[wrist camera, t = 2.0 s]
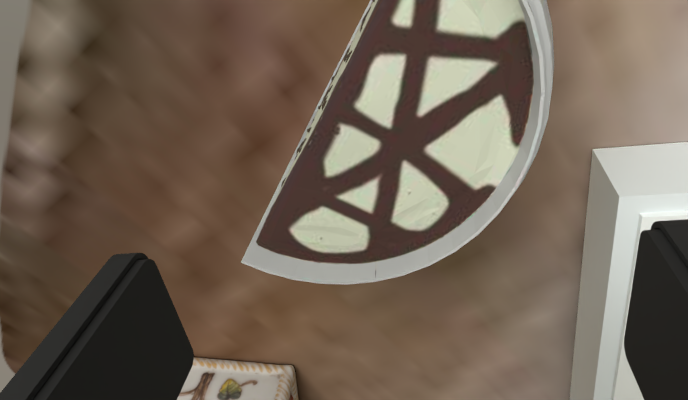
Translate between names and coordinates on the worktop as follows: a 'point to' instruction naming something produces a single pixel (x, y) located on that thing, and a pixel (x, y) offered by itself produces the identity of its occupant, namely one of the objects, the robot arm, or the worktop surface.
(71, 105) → the worktop surface
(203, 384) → the decorative jar
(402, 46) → the food container
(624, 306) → the base
